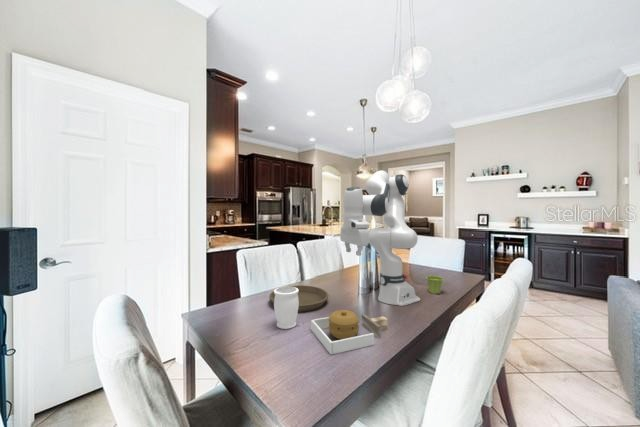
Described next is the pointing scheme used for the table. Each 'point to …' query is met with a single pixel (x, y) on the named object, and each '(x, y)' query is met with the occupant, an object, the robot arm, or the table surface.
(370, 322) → the scraper
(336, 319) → the pot
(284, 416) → the table surface
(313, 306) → the plant saucer
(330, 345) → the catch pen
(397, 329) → the table surface
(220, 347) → the table surface
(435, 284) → the plant pot
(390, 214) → the robot arm
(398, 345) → the table surface
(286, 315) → the jar
